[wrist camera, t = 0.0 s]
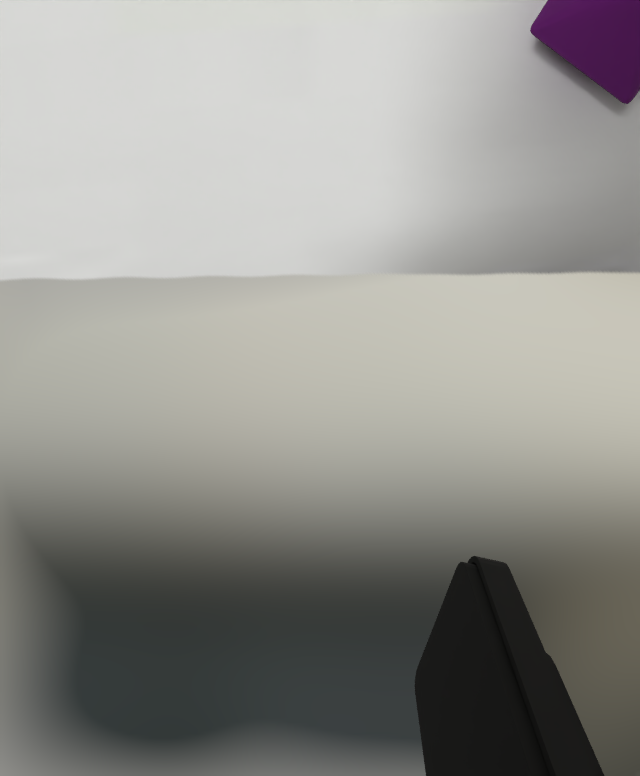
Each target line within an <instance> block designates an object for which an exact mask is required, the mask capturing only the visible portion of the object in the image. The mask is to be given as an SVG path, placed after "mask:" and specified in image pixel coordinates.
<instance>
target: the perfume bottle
mask: <svg viewBox="0 0 640 776" xmlns="http://www.w3.org/2000/svg"><path fill="white" fill-rule="evenodd" d="M530 31H531V33H532V34H533V35H534V36H535V37H537V38H538V39H539V40H540V41H542V42H543V43H544V44H546V45H547V46H548V47H550V48H551V49H552V50H554V51H555V52H556V53H558V54H559V55H560V56H562V57H563V58H564V59H566V60H567V61H568V62H570V63H571V64H572V65H574V66H575V67H576V68H577V69H579V70H580V71H581V72H583V73H584V74H585V75H587V76H588V77H589V78H591V79H592V80H593V81H595V82H596V83H597V84H599V85H600V86H601V87H603V88H604V89H605V90H607V91H608V92H609V93H610V94H612V95H613V96H614V97H616V98H617V99H618V100H620V101H621V102H622V103H626V104H628V103H629V102H631V101H632V100H633V98H634V97H635V96H636V94H637V93H638V91H639V90H640V0H548V1H547V3H546V4H545V6H544V7H543V9H542V10H541V12H540V14H539V15H538V17H537V18H536V20H535V21H534V23H533V24H532V26H531V30H530Z"/></svg>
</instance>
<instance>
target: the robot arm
mask: <svg viewBox="0 0 640 776" xmlns="http://www.w3.org/2000/svg"><path fill="white" fill-rule="evenodd" d="M415 695H416V702H417V710H418V717H419V725H420V732H421V740H422V747H423V755H424V762H425V770H426V776H604V774H603V772H602V769H601V767H600V765H599V763H598V760H597V758H596V756H595V754H594V751H593V749H592V747H591V745H590V742H589V740H588V738H587V735H586V733H585V731H584V729H583V727H582V724H581V722H580V720H579V717H578V715H577V713H576V710H575V708H574V706H573V704H572V701H571V699H570V697H569V695H568V692H567V690H566V688H565V686H564V683H563V681H562V679H561V677H560V674H559V672H558V670H557V668H556V665H555V664H554V662H553V660H552V658H551V657H550V656H549V655H548V654H547V653H546V652H545V650H544V648H543V645H542V643H541V641H540V638H539V636H538V634H537V631H536V629H535V627H534V625H533V622H532V620H531V618H530V615H529V613H528V611H527V608H526V606H525V604H524V602H523V599H522V597H521V594H520V592H519V590H518V588H517V585H516V583H515V581H514V578H513V576H512V574H511V571H510V569H509V567H508V566H507V564H505V563H504V562H499V561H495V560H490V559H485V558H481V557H476V556H473V557H471V559H469V561H468V563H464V562H460V563H459V564H458V566H457V568H456V570H455V573H454V576H453V579H452V581H451V583H450V586H449V588H448V591H447V593H446V596H445V599H444V601H443V604H442V606H441V609H440V611H439V614H438V616H437V619H436V622H435V624H434V627H433V629H432V632H431V635H430V637H429V639H428V642H427V645H426V647H425V650H424V652H423V655H422V657H421V660H420V662H419V665H418V668H417V671H416V677H415Z"/></svg>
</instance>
